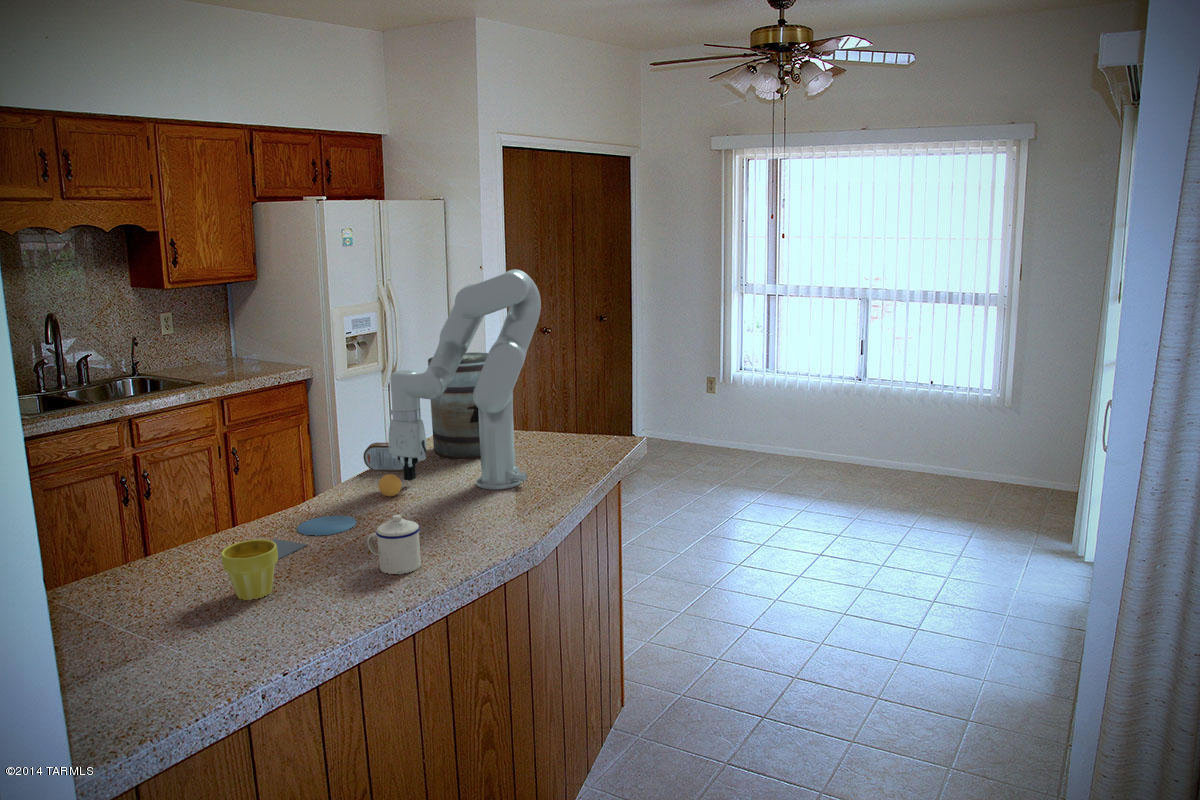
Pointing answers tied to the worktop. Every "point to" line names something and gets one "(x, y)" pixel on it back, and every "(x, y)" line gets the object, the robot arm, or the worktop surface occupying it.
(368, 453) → the tin
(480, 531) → the worktop surface
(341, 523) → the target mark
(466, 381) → the barrel
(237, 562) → the plant pot
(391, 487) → the ball
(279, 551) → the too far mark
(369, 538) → the teacup with lid
